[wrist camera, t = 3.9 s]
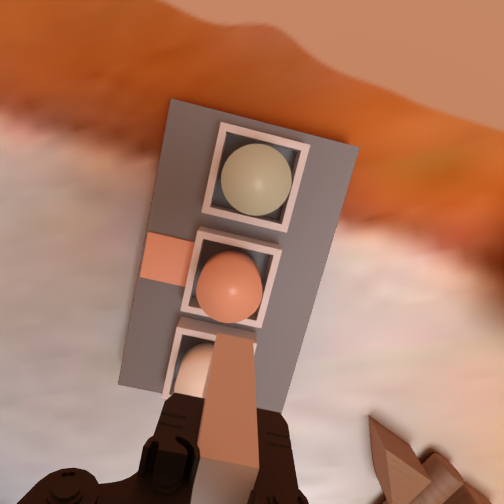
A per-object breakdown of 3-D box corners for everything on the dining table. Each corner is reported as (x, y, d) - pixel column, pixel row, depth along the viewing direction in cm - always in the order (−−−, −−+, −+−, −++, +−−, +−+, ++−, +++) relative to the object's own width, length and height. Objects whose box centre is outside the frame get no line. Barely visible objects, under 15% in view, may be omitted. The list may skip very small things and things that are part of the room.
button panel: (128, 365, 34) (109, 399, 29) (178, 105, 29) (165, 92, 24) (277, 395, 35) (282, 432, 30) (348, 149, 30) (368, 145, 25)
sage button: (217, 202, 26) (214, 206, 23) (231, 139, 25) (229, 135, 23) (277, 216, 27) (281, 222, 24) (293, 155, 26) (299, 153, 23)
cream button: (176, 387, 30) (168, 411, 27) (187, 337, 29) (181, 356, 26) (230, 398, 30) (229, 423, 27) (242, 348, 29) (243, 369, 26)
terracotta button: (195, 299, 28) (190, 315, 25) (207, 244, 27) (203, 253, 24) (252, 312, 28) (253, 329, 25) (266, 257, 27) (269, 268, 24)
